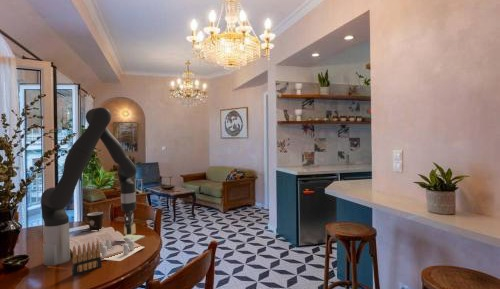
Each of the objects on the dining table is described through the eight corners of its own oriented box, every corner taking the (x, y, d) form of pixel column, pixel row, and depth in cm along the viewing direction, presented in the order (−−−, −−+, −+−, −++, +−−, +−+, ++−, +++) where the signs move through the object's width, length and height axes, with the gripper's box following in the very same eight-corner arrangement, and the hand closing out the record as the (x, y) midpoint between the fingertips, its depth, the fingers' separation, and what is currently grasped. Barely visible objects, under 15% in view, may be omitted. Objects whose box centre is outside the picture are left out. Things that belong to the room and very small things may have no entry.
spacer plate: (120, 262, 135) (119, 250, 135) (87, 258, 141) (86, 247, 141) (145, 247, 153) (144, 237, 153) (115, 245, 158) (114, 235, 158)
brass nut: (130, 235, 162) (130, 225, 162) (122, 234, 164) (122, 225, 164) (137, 232, 168) (137, 222, 168) (129, 231, 169) (129, 222, 169)
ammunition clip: (100, 267, 131) (99, 239, 131) (101, 268, 130) (100, 240, 130) (72, 275, 124) (70, 245, 124) (73, 276, 123) (72, 246, 122)
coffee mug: (106, 229, 187) (106, 212, 187) (93, 233, 180) (92, 216, 179) (95, 226, 193) (95, 210, 193) (82, 230, 186) (81, 214, 186)
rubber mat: (131, 244, 159) (131, 242, 159) (114, 242, 162) (114, 240, 162) (145, 237, 170) (144, 235, 170) (128, 235, 173) (128, 234, 173)
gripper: (134, 203, 159) (135, 236, 160) (137, 198, 173) (138, 228, 174) (118, 204, 158) (119, 237, 158) (123, 199, 172) (124, 229, 172)
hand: (129, 232), depth 166 cm, fingers closed on brass nut, 5 cm apart
